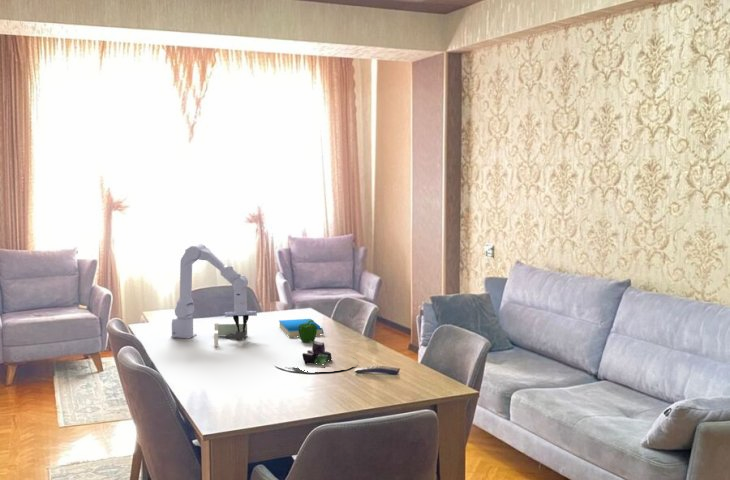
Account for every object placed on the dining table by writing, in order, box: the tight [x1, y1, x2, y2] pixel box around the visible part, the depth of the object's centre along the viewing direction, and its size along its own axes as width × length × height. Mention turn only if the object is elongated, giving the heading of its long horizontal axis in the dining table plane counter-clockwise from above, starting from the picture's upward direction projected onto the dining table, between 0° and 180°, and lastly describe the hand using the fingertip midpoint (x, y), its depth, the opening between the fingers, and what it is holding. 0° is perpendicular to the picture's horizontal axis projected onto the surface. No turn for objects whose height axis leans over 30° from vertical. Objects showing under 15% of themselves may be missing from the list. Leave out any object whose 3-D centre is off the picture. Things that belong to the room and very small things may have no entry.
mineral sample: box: [274, 342, 333, 374], centre depth 304 cm, size 35×35×9 cm
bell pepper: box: [299, 319, 317, 343], centre depth 342 cm, size 8×8×10 cm
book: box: [278, 318, 324, 338], centre depth 365 cm, size 17×4×25 cm
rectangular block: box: [213, 320, 219, 348], centre depth 345 cm, size 28×2×6 cm, turn 11°
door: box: [218, 323, 248, 337], centre depth 353 cm, size 14×2×6 cm, turn 96°
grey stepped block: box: [225, 330, 247, 341], centre depth 349 cm, size 8×4×4 cm, turn 63°
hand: (241, 331), depth 347 cm, fingers closed on grey stepped block, 2 cm apart
